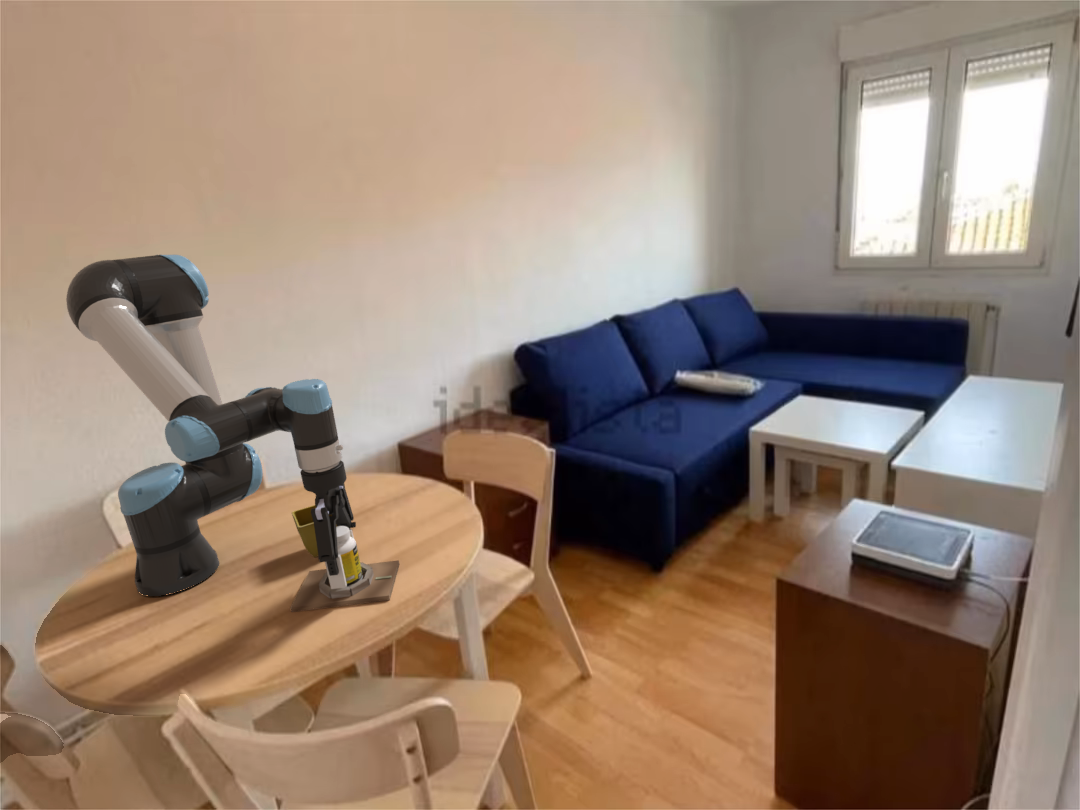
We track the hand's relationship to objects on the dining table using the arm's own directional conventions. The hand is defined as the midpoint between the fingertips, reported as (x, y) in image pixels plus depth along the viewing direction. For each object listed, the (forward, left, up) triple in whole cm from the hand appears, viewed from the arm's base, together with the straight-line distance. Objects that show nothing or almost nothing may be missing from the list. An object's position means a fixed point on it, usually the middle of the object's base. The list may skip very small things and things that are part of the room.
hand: (345, 572), depth 114 cm
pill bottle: (0, 0, -2) cm, 2 cm away
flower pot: (-9, +16, -3) cm, 19 cm away
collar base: (0, 0, -3) cm, 3 cm away
